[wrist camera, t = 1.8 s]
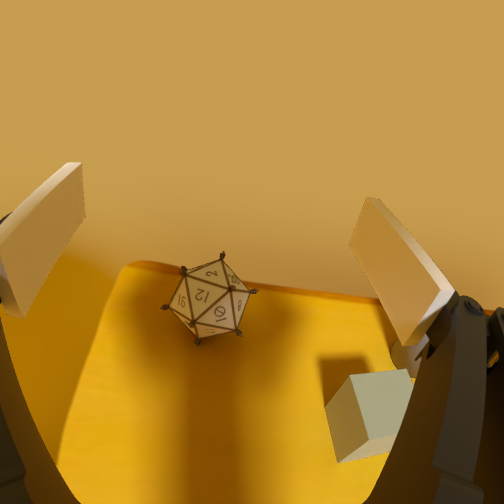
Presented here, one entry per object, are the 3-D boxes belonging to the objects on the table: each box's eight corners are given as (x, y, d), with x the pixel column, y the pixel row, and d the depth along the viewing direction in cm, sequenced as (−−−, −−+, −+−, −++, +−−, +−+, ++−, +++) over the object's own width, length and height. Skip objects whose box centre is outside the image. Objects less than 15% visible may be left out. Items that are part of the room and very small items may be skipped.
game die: (204, 333, 36) (227, 253, 36) (255, 362, 30) (284, 268, 30) (138, 327, 29) (164, 232, 30) (184, 365, 23) (218, 246, 24)
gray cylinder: (436, 374, 30) (479, 324, 25) (400, 381, 29) (444, 327, 24) (418, 338, 35) (453, 287, 30) (383, 341, 34) (418, 285, 29)
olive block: (392, 451, 22) (429, 424, 18) (337, 463, 21) (369, 439, 17) (376, 401, 27) (406, 368, 23) (324, 407, 26) (349, 374, 22)
